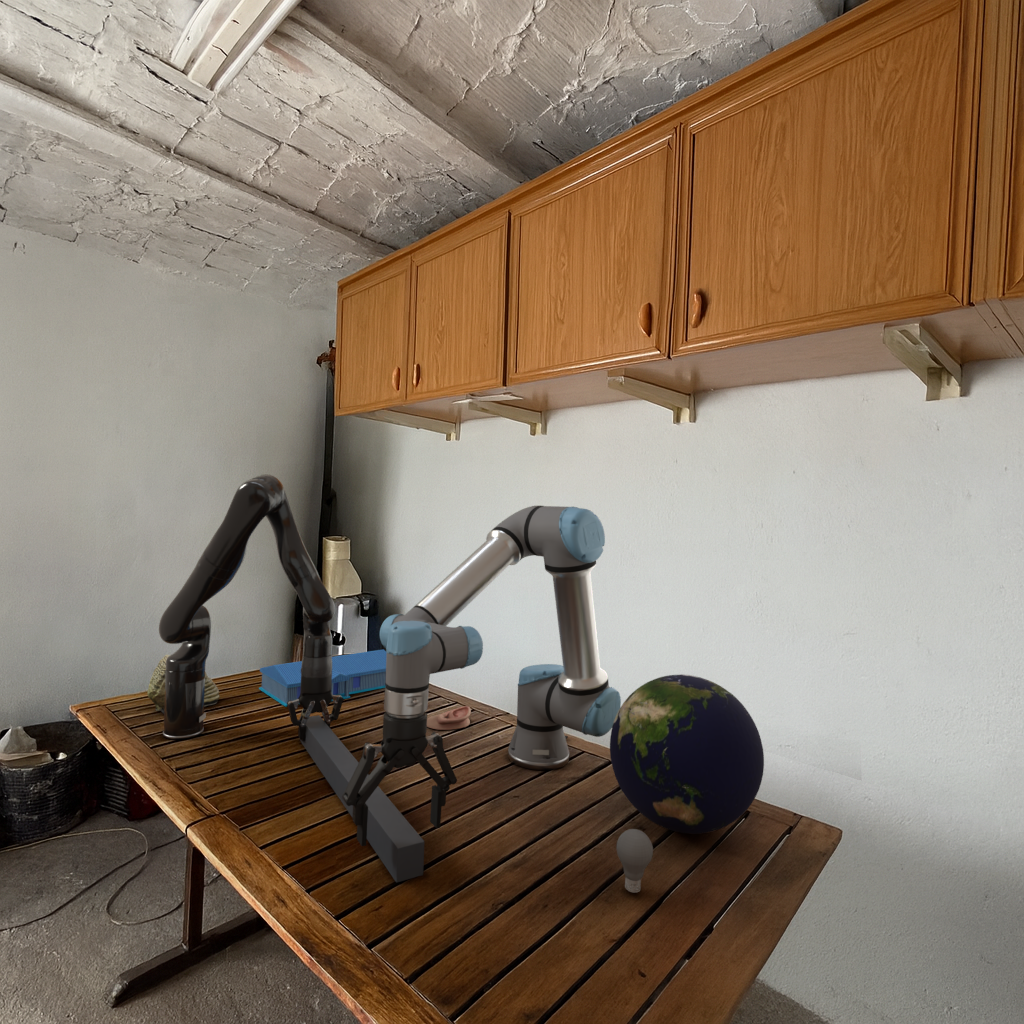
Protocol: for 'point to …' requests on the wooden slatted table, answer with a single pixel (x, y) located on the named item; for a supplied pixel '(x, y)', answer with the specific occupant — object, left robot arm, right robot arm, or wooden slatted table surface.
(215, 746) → the wooden slatted table surface
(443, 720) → the anatomical model
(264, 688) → the model building
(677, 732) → the globe
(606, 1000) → the wooden slatted table surface
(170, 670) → the left robot arm
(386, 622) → the right robot arm
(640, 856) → the light bulb
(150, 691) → the fossil
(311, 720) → the bar
